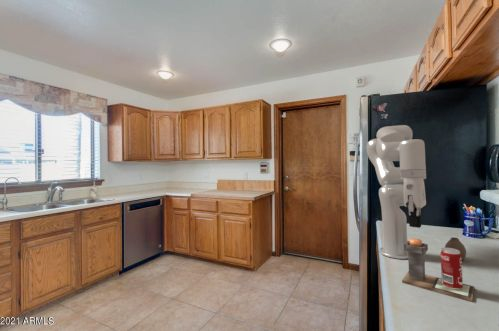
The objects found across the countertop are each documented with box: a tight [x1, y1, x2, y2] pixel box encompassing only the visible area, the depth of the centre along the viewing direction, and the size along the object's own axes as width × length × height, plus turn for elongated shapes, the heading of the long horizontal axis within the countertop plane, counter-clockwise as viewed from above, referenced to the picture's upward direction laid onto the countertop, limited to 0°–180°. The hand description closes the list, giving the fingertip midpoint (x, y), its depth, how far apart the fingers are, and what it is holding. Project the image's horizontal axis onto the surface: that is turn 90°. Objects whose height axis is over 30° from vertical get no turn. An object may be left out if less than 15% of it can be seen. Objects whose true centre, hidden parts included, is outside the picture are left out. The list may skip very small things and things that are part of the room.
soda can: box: [440, 247, 464, 290], centre depth 78 cm, size 5×5×12 cm
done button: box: [408, 238, 423, 247], centre depth 85 cm, size 4×4×2 cm
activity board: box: [401, 240, 475, 303], centre depth 81 cm, size 18×10×13 cm, turn 44°
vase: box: [444, 237, 467, 261], centre depth 101 cm, size 7×7×9 cm
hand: (415, 226), depth 84 cm, fingers closed
